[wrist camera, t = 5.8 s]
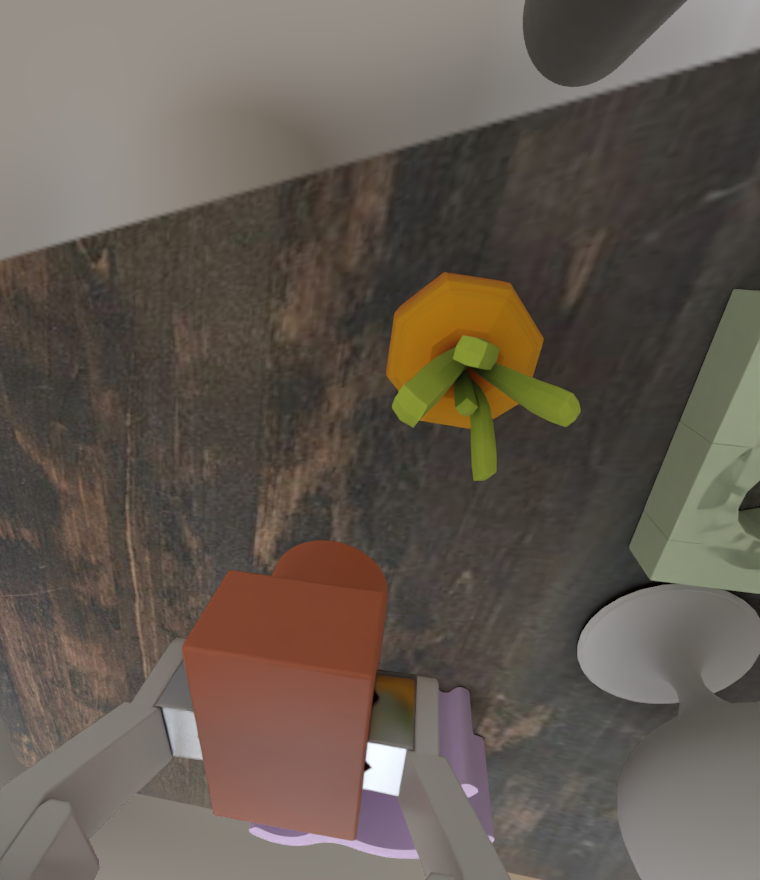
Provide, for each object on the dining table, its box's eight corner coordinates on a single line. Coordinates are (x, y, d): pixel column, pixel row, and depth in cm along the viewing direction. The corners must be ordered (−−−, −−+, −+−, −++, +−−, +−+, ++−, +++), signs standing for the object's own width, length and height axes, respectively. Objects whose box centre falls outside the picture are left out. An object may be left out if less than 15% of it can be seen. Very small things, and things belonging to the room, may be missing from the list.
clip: (292, 768, 42) (269, 857, 36) (244, 688, 38) (207, 775, 31) (489, 759, 38) (501, 859, 32) (462, 668, 33) (469, 764, 27)
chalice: (794, 678, 30) (1092, 1030, 16) (600, 721, 34) (711, 1029, 21) (748, 539, 26) (1101, 861, 12) (532, 607, 30) (617, 903, 16)
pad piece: (270, 497, 12) (176, 647, 7) (397, 514, 11) (377, 679, 7) (277, 643, 14) (210, 816, 10) (380, 659, 14) (357, 843, 10)
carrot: (515, 295, 21) (664, 373, 8) (460, 374, 23) (502, 545, 10) (434, 242, 21) (445, 227, 7) (385, 328, 23) (320, 443, 9)
